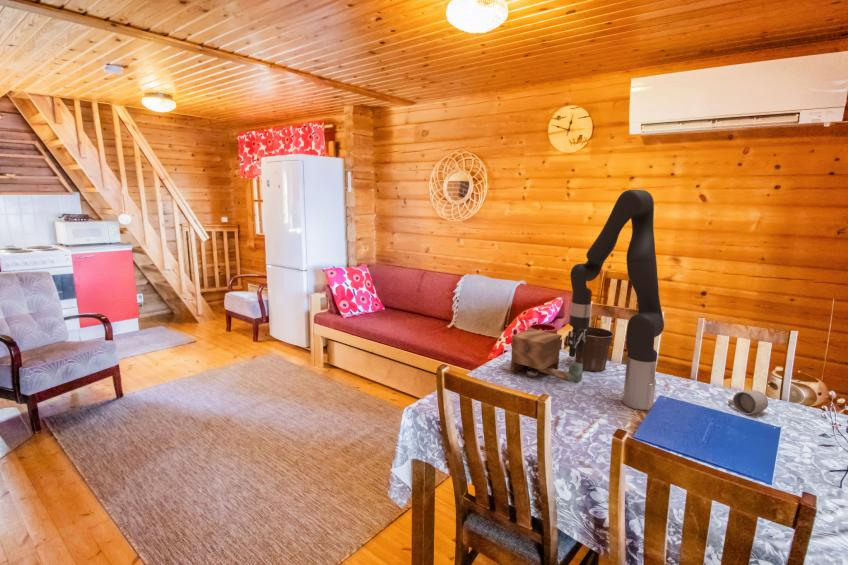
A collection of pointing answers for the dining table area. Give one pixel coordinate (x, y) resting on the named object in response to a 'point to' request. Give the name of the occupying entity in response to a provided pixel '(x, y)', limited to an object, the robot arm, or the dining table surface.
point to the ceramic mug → (749, 402)
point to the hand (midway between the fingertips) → (576, 353)
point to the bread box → (535, 350)
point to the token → (532, 373)
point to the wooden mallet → (572, 375)
